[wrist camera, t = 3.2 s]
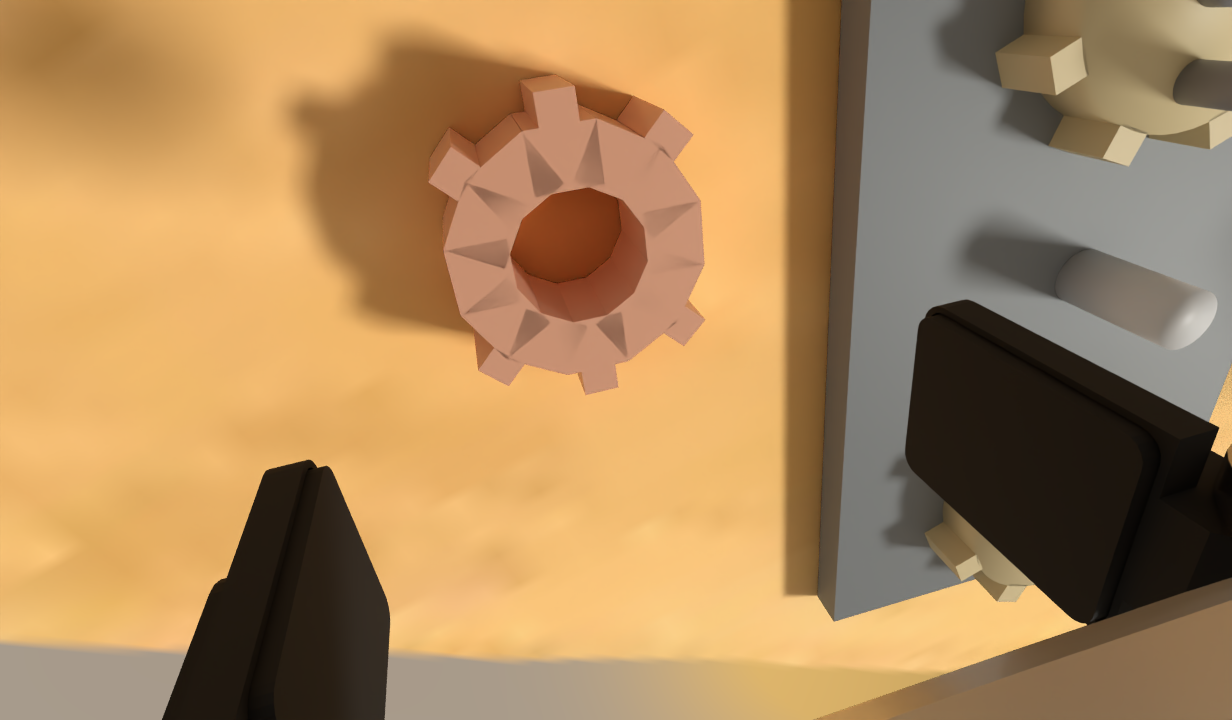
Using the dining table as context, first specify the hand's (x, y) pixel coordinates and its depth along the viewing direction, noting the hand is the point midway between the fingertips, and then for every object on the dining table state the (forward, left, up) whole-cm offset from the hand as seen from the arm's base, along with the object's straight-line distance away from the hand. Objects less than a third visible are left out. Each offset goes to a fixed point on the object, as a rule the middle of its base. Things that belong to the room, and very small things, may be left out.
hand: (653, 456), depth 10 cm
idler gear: (0, 0, -11) cm, 11 cm away
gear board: (+5, +18, -11) cm, 22 cm away
